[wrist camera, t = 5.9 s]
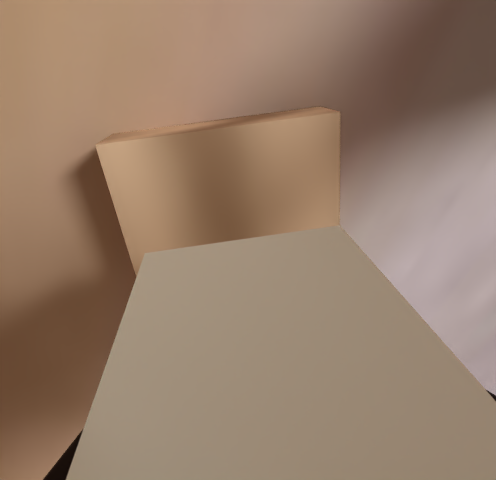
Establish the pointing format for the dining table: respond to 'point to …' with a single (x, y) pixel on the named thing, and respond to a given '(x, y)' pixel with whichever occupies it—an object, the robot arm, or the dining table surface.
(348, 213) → the dining table surface
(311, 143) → the oak block
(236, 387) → the sage cube
